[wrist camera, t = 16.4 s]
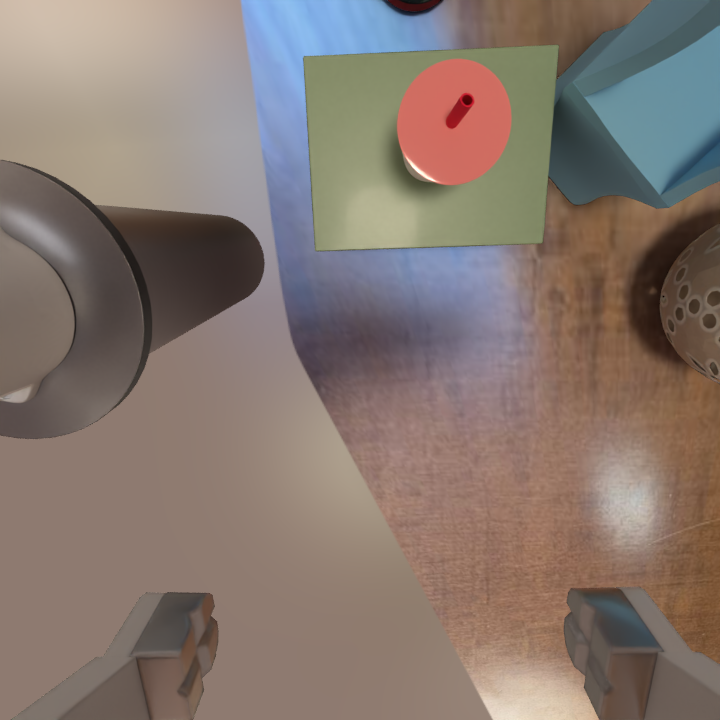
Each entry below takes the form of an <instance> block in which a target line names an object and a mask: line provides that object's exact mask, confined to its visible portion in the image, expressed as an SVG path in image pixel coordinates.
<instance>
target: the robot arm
mask: <svg viewBox="0 0 720 720" xmlns="http://www.w3.org/2000/svg"><path fill="white" fill-rule="evenodd" d="M74 331H75V317H74V310H73V306H72V302H71V299H70V296H69V294H68V291H67V289H66V287H65V285H64V284H63V282H62V280H61V279H60V277H59V276H58V274H57V273H56V272H55V270H54V269H53V268H52V267H51V266H50V265H49V263H48V262H47V261H46V260H44V259H43V258H42V257H41V256H40V255H39V254H38V253H36V252H35V251H34V250H32V249H31V248H29V247H28V246H26V245H24V244H22V243H21V242H19V241H17V240H15V239H14V238H12V237H11V236H9V235H8V234H6V233H5V232H4V231H3V229H2V228H1V227H0V401H6V402H12V403H23V402H26V401H29V400H31V399H33V398H34V396H35V395H36V393H37V391H38V389H39V387H40V384H41V382H42V379H43V378H44V377H45V376H46V375H47V374H48V373H50V372H51V371H52V370H54V369H55V368H56V367H57V366H58V365H59V364H60V363H61V362H62V361H63V360H64V358H65V357H66V355H67V354H68V352H69V350H70V347H71V345H72V342H73V337H74ZM567 604H568V606H569V608H570V610H571V612H570V613H569V614H568V615H567V616H566V617H565V620H564V636H565V643H566V647H567V650H568V653H569V656H570V658H571V661H572V663H573V665H574V667H575V668H576V669H578V670H579V671H580V672H581V673H582V674H584V675H585V676H586V677H585V684H584V689H585V691H586V693H587V695H588V697H589V699H590V701H591V703H592V705H593V707H594V710H595V712H596V714H597V716H598V718H599V720H720V664H718V663H716V662H715V661H713V660H712V659H710V658H709V657H707V656H705V655H704V654H702V653H701V652H692V650H691V649H690V648H689V647H688V645H687V644H686V643H685V641H684V640H683V639H682V638H681V636H680V635H679V634H678V632H677V631H676V630H675V628H674V627H673V626H672V625H671V623H670V622H669V621H668V619H667V618H666V617H665V616H664V614H663V613H662V612H661V610H660V609H659V608H658V606H657V605H656V604H655V603H654V601H653V600H652V599H651V597H650V596H649V595H648V594H647V592H646V591H645V590H644V589H642V588H641V587H616V588H614V587H607V588H571V589H570V591H569V592H568V596H567ZM214 607H215V606H214V600H213V595H212V594H210V593H175V592H174V593H173V592H170V593H169V592H168V593H145V594H144V595H142V596H141V597H140V598H139V600H138V601H137V603H136V605H135V606H134V608H133V609H132V611H131V613H130V614H129V616H128V617H127V619H126V620H125V622H124V624H123V626H122V627H121V629H120V630H119V632H118V634H117V635H116V637H115V638H114V640H113V642H112V643H111V645H110V646H109V648H108V650H107V651H106V653H105V654H104V656H103V657H96V658H94V659H93V660H91V661H90V662H89V663H87V664H86V665H85V666H83V667H82V668H80V669H79V670H78V671H76V672H75V673H74V674H72V675H71V676H70V677H68V678H67V679H66V680H64V681H63V682H62V683H60V684H59V685H58V686H56V687H55V688H53V689H52V690H51V691H49V692H48V693H46V694H45V695H44V696H42V697H41V698H40V699H38V700H37V701H36V702H34V703H33V704H32V705H30V706H29V707H27V708H26V709H25V710H24V711H22V712H21V713H19V714H18V715H17V716H15V717H14V718H12V719H11V720H193V719H194V716H195V713H196V711H197V707H198V705H199V702H200V699H201V697H202V694H203V691H204V688H203V681H202V678H203V677H204V676H205V675H206V674H207V673H208V672H209V671H210V670H211V668H212V666H213V663H214V660H215V657H216V651H217V646H218V625H217V621H216V620H215V619H214V618H213V617H212V616H211V614H212V611H213V609H214Z"/></svg>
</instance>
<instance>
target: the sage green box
mask: <svg viewBox="0 0 720 720" xmlns="http://www.w3.org/2000/svg"><path fill="white" fill-rule="evenodd" d="M558 51H559V45H542V46H520V47H498V48H476V49H454V50H432V51H410V52H389V53H367V54H345V55H323V56H304V57H303V61H304V77H305V94H306V110H307V127H308V143H309V159H310V176H311V192H312V209H313V225H314V241H315V251H342V250H371V249H400V248H430V247H459V246H489V245H518V244H542V243H543V236H544V224H545V211H546V199H547V187H548V174H549V162H550V150H551V137H552V125H553V113H554V100H555V88H556V76H557V63H558ZM449 59H466V60H471V61H474V62H477V63H479V64H481V65H483V66H485V67H486V68H488V69H489V70H490V71H492V72H493V73H494V74H495V75H496V76H497V78H498V79H499V80H500V82H501V83H502V85H503V86H504V88H505V90H506V93H507V95H508V98H509V102H510V106H511V130H510V135H509V138H508V141H507V144H506V146H505V149H504V151H503V152H502V154H501V156H500V157H499V159H498V160H497V162H496V163H495V164H494V165H493V166H492V167H491V168H490V169H489V170H488V171H487V172H486V173H484V174H483V175H482V176H480V177H478V178H477V179H475V180H472V181H470V182H467V183H464V184H459V185H443V184H438V183H435V182H424V181H420V180H418V179H416V178H415V177H413V176H412V175H411V174H410V173H409V171H408V170H407V168H406V166H405V163H404V159H403V153H402V150H401V147H400V144H399V139H398V133H397V119H398V112H399V108H400V105H401V102H402V99H403V97H404V95H405V93H406V91H407V89H408V88H409V86H410V85H411V83H412V82H413V81H414V80H415V78H416V77H417V76H418V75H419V74H421V73H422V72H423V71H424V70H426V69H427V68H429V67H430V66H432V65H434V64H436V63H439V62H441V61H445V60H449Z"/></svg>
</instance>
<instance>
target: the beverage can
mask: <svg viewBox="0 0 720 720" xmlns="http://www.w3.org/2000/svg"><path fill="white" fill-rule="evenodd" d="M388 1H389V2H390V3H391V4H392V5H394V6H396V7H397V8H400V9H402V10H406V11H422V10H425V9H428V8H430V7H432V6H434V5H436V4H437V3H438V2H439V1H441V0H388Z"/></svg>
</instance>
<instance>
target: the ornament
mask: <svg viewBox="0 0 720 720" xmlns="http://www.w3.org/2000/svg"><path fill="white" fill-rule="evenodd" d="M664 283H665V284H663V287H662V291H661V297H660V316H661V321H662V325H663V329H664V331H665V334H666V336H667V339H668V340H669V341H670V343H671V344H672V346H673V347H674V349H675V350H676V352H677V353H678V354H679V356H680V357H681V358H682V359H683V360H684V361H685V362H686V363H687V364H689V365H690V366H691V367H693V368H694V369H695V370H696V369H697V371H698V370H699V371H698V372H700V373H701V374H702V375H704V376H705V377H707V378H709V379H711V380H713V381H715V382H717V383H718V384H720V382H718V381H716V380H715V379H713V378H716V379H719V380H720V223H719V224H718V225H716V226H714V227H712V228H711V229H709V230H707V231H706V232H705V233H703V234H702V235H701V236H699V237H698V238H697V239H696V240H694V241H693V242H692V243H691V244H690V245H689V246H688V247H687V248H686V249H685V250H684V251H683V252H682V253H681V254H680V255H679V256H678V258H677V259H676V261H675V262H674V263H673V265H672V266H671V268H670V270H669V272H668V274H667V276H666V278H665V281H664ZM663 295H664V296H665V297H664V298H662V296H663ZM710 364H711V366H710ZM701 366H702V367H701ZM709 366H710V367H709Z"/></svg>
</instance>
